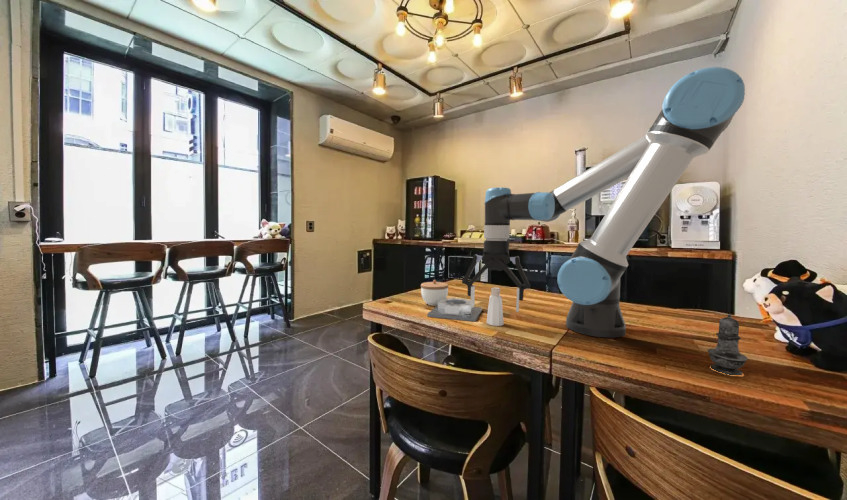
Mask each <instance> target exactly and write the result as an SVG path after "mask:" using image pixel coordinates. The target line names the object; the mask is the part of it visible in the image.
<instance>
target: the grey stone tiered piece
mask: <svg viewBox="0 0 847 500" xmlns="http://www.w3.org/2000/svg"><path fill="white" fill-rule="evenodd" d="M718 323H719V324H718V332H716V333H715V335H716V336H717V344H716V346H715V347H714V348H708V349H707V350H706V351H707V353H708V354H709V355H708V356H709V358H710V360H711V362H712V363H713V364H710V365H711V368H712V369H714V370H716V371H718V372H722V373H725V374H726V375H727V374H729V375H742V373H743V372H742V371H741V370H740V369H741V368H743V367H744V366H745V365H746V361H748V360H749V357H748V356H747V355H744V354H742V353H741V352H740V348H739V341H740V340H742V337H740V336H739V333H740V331H739V330H740V322H739V321H738V320H737V319H735V318H733V317H732V314H731V313H728V314H727V316H726V317H722V318H720V319H719V322H718ZM726 375H725V376H726Z"/></svg>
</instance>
